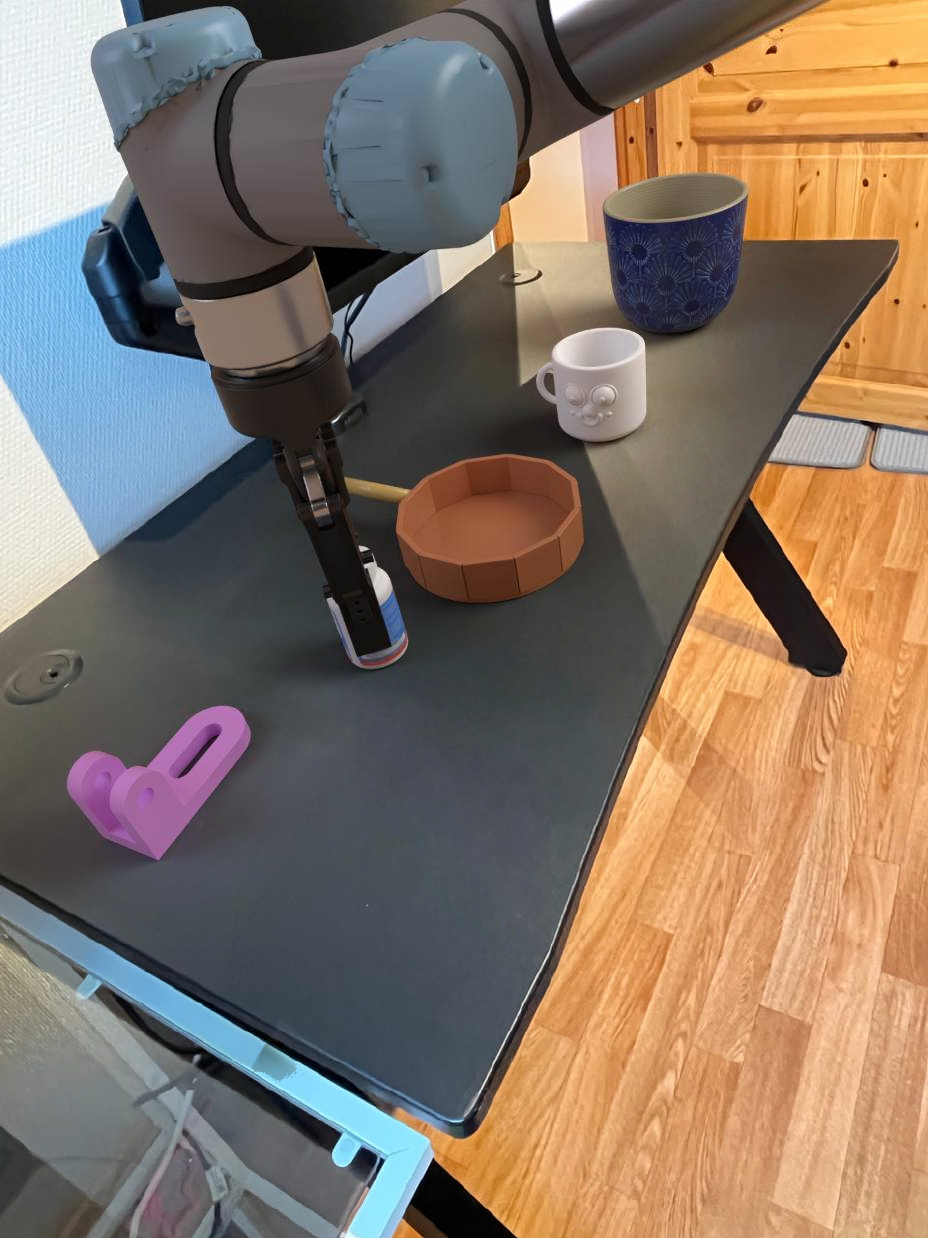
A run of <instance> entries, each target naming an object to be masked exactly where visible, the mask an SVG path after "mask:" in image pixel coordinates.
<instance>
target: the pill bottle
mask: <svg viewBox="0 0 928 1238" xmlns="http://www.w3.org/2000/svg"><path fill="white" fill-rule="evenodd" d="M359 548H360V552H362V551H365V550H368V549H369V548H368V547H366V546H363V545H359ZM372 555H373V558H374V562H371V563H368V564H365V565H364V567H365V568H368V571H369V574H370V577H371V580H372V583H373V587H374V590H375V593H376V596H377V599H378V602H379V605H380V609H381V612H382V615H383V618H384V621H385V624H386V627H387V630H388V634H389V637H390V641H391V644H392V647H390V648H387V649H383V650H380V651H377V652H373V653H370V654H367V655H363V656H360V657H357V656H356V653H355V650H354V647H353V645H352V642H351V639H350V636H349V634H348V631H347V628H346V625H345V622H344V620H343V617H342V614H341V611H340V609H339V606H338V605H337V604H336V603H335V601H334V600H333V599H332V597H331V598H328V599H326V602H327V604H328V608H329V611H330V613H331V615H332V618H333V620H334V624H335V626H336V629H337V631H338V634H339V636H340V637H339V638H340V639H341V642H342V644H343V647H344V649H345V653H346V654H347V657H348V658H349V660H350V661H351V663H352V664H353V665H354V666H356V667H359V668H361V669H366V670H377V669H382V668H385V667H388V666H390V665H392V664H394V663H395V662H397V661H398V660H399V659H401V657H402V656H403V655H404V654H405V652H406V651H407V649H408V646H409V645H408V644H409V637H408V632H407V629H406V627H405V622H404V620H403V617H402V614H401V611H400V610H401V609H400V607H399V604H398V603H399V602H398V599H397V596H396V594H395V590H394V587H393V584H392V581H391V578H390V577H389V575H388V573H387V571H385V570H384V569H382V568H381V567H379V566H378V564H377V561H376V559H375V556H374V554H373V552H372Z"/></svg>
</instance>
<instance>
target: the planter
mask: <svg viewBox="0 0 928 1238" xmlns="http://www.w3.org/2000/svg"><path fill="white" fill-rule="evenodd" d="M749 194H750V189H749V186H748V184H747V183H746V182H745V181H744V180H742V179H741V178H739V177H736V176H733V175H730V174H724V173H716V172H684V173H673V174H666V175H660V176H656V177H651V178H646V179H641V180H640V181H637V182H633V183H630V184H627V185H625V186H623V187H621V188H619V189H617V190H615V191H614V192H612V193H611V194H609V195H608V196H607V197H606V198H605V199H604V201H603V203H602V216H603V217H602V218H603V225H604V234H605V241H606V250H607V257H608V266H609V267H608V268H609V275H610V283H611V288H612V294H613V297H614V300H615V303H616V305H617V307H618V310H619V311H620V313H621V315H623V317H624V318H625V319H626V320H627V321H628V322H630V323H631V324H632V325H633V326H635V327H637V328H639V329H642V330H644V331H647V332H651V333H656V334H657V333H658V334H676V333H677V334H678V333H684V332H688V331H692V330H696V329H698V328H701V327H703V326H705V325H707V324H709V323H710V322H712V321H713V320H715V319H716V318H717V317H719V316H720V315H721V313H722V312H723V311H724V310H725V308H727V306H728V305H729V303H730V301H731V299H732V298H733V295H734V293H735V289H736V287H737V283H738V279H739V274H740V266H741V258H742V249H743V244H744V243H743V241H744V233H745V226H746V219H747V218H746V217H747V211H748V203H749Z"/></svg>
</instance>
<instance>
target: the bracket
mask: <svg viewBox="0 0 928 1238" xmlns="http://www.w3.org/2000/svg"><path fill="white" fill-rule="evenodd" d="M215 736H217V738H216V739H215V740H214V741H213V742H212V744H211V745H210V746H209V747H208V748H207V750H206V751H205V752H204V754H202V756H201V757H200V758H199V760H197V762H196V763H195V764H194V765H193V767H192V768H191V769H190V770H189V771H188V773H187V774H185V775H183V776H180V775H181V774H182V773H183V772H184V770H185V769H186V768H187V767H188V766H189V765H190V763H191V762H192V761H193V760H194V758H195V757H196V756H197V755H198V754H199V752H200V751H201V750H202V749H203V747H204V746H205V745H206V744H207V743H208V741H210V740H211V739H212V738H214V737H215ZM251 737H252V733H251V728H250V726H249V724H248V722H247V721H246V719H245V716H244V715H243V713H242V712H241V711H240V710H238V709H237V708H235V707H233V706H230V705H216V706H211V707H208V708H205V709H203V710H201V711H198V712H197V713H196V714H194V715H193V716H191V717H190V718H188V720H186V722H185V723H184V724H182V726H181V727H180V728H179V730H178V731H177V732H176V733H175V734H174V735H173V736H172V738H171V739H170V740H169V741H168V742H167V743H166V744H165V746H163V748H162V749H161V750H160V751H159V753H157V755H156V756H155V757H154V758H153V760H152V761H151V762H150V763H149V764H148V765H147V766H146V767H145V766H142V765H134V766H131V767H129V768H128V769H127V767H126V766H125V764H124V763H123V762H122V760H121V759H120V758H119V757H117V756H115V755H112V754H109V753H107V752H103V751H101V750H92V751H88V752H86V753H85V754H82V755H81V756H80V757H79V758H78V759H77V760H76V761H75V762H74V763H73V765H72V767H71V768H70V770H69V773H68V776H67V780H66V789H67V792H68V794H69V796H70V798H71V799H72V800H73V801H74V803H75V804H76V805H77V806H78V808H79V809H80V810H81V811H82V813H83V814H84V815H85V817H87V819H88V820H89V821H90V822H91V824H92V825H93V827H95V829H96V830H97V831H98V832H99V834H100V835H101V836H102V837H103V838H104V839H106V840H109V841H111V842H113V843H116V844H118V845H120V846H123V847H125V848H127V849H129V850H132V851H134V852H137V853H140V854H142V855H145V856H147V857H150V858H151V859H154V860H155V861H160V860H161V859H162V857H163V856H164V854H165V853H166V852H167V850H168V849H169V848H170V847H171V846H172V844H173V843H174V842H175V841H176V839H177V838H178V837H179V835H180V834H181V833H182V832H183V830H184V829H185V828H186V827H187V825H188V824H189V823H190V821H192V819H193V817H194V816H195V815H196V814H197V813H198V811H199V810H200V809H201V808H202V806H203V805H204V804H205V803H206V801H207V800H208V798H210V796H211V795H212V793H214V791H215V789H217V787H218V786H219V784H221V782H222V781H223V780H224V778H225V777H226V776H227V774H228V773H229V772H230V771H231V770H232V768H233V767H234V766H235V764H236V763H237V762H238V760H239V759H240V758H241V757H242V755H244V753H245V752H246V750H247V748H248V747H249V744H250V742H251ZM179 776H180V777H179Z"/></svg>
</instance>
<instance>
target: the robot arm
mask: <svg viewBox="0 0 928 1238" xmlns="http://www.w3.org/2000/svg"><path fill="white" fill-rule="evenodd" d="M832 1H833V0H464V1H461V2H459V3H458V4H455V5H454V6H452V7H449V8H446V9H443V10H440V11H437V12H435V13H433V14H431V15H427V16H426V17H424V18H421V19H419V20H416V21H413V22H411V23H408V24H406V25H403V26H402V27H398V28H396V29H393V30H391V31H389V32H386V33H384V34H381V35H379V36H376V37H374V38H372V39H369V40H366V41H364V42H362V43H359V44H357V45H354V46H353V45H352V46H350V47H347V48H342V49H339V50H334V51H329V52H323V53H316V54H309V55H303V56H297V57H290V58H289V57H288V58H283V59H264V58H262V57H263V56H262V55H263V54H262V50H261V49H260V48H259V47H258V46H257V45H256V43H255V41H254V40H255V39H254V37H253V35H252V31H251V28H250V26H249V25H250V24H249V23H248V21H247V19H246V17H245V16H244V15H243V13H242V12H241V11H239V9H237V8H235V7H233V6H229V5H228V6H227V5H226V6H225V5H222V6H210V7H209V6H208V7H204V8H198V9H193V10H188V11H184V12H178V13H175V14H171V15H167V16H163V17H158V18H155V19H149V20H147V21H143V22H140V23H136V24H133V25H130V26H126V27H123V28H120V29H117V30H114V31H111V32H109V33H107V34H105V35H103V36H102V37H100V38H99V39H98V40H97V41H96V42H95V44H94V46H93V47H92V50H91V53H90V68H91V72H92V75H93V78H94V81H95V84H96V87H97V90H98V93H99V95H100V99H101V103H102V104H103V108H104V110H105V114H106V116H107V119H108V123H109V125H110V128H111V131H112V134H113V136H112V137H113V140H114V141H113V145H114V148H115V150H116V152H117V153H119V154H120V157H121V159H122V161H123V164H124V166H125V169H126V171H127V174H128V176H129V178H130V182H131V183H132V186H133V188H134V191H135V192H136V195H137V198H138V200H139V202H140V205H141V207H142V209H143V212H144V214H145V217H146V219H147V222H148V225H149V226H150V229H151V231H152V233H153V236H154V238H155V241H156V243H157V245H158V248H159V250H160V254H161V256H162V258H163V260H164V263H165V265H166V267H167V270H168V273H169V276H170V277H171V279H172V281H173V283H174V286H175V289H176V290H177V292H178V295H179V297H180V300H181V301H180V302H181V303H182V305H183V306H181V307H178V308H176V310H175V320H176V322H177V324H179V325H180V326H182V327H188V326H192V325H194V335H195V338H196V340H197V343H198V346H199V348H200V350H201V353H202V356H203V358H204V360H205V361H206V362H207V363H208V364H209V365H212V368H211V371H210V379H211V381H212V384H213V386H214V389H215V391H216V393H217V397H218V398H219V401H220V403H221V406H222V409H223V411H224V415H225V416H226V418H227V421H228V423H229V425H230V426H231V428H232V429H233V430H235V431H236V432H237V433H239V434H240V435H243V436H245V437H248V438H252V439H258V440H260V439H267V440H270V444H271V446H272V450H273V452H274V454H273V455H272V459H273V463H274V466H275V470H276V471H277V475H278V476H279V480H280V482H281V483H282V484H283V485H285V486H286V487H287V489H288V492H289V494H290V497H291V500H292V503H293V506H294V509H295V511H296V515H297V517H298V518H297V519H298V520H300V521H301V523H302V525H303V527H304V529H305V531H306V532H307V534H308V537H309V539H310V542H311V544H312V547H313V549H314V552H315V554H316V557H317V559H318V562H319V564H320V566H321V569H322V572H323V574H324V577H325V579H326V582H327V583H325V584H323V585H321V587H322V593H323V597H324V599H325V600H327V599H328V598H331V597H332V599H333V600H334V601H335V603H336V604H337V605H338V606H339V609H340V611H341V614H342V617H343V620H344V622H345V625H346V628H347V631H348V634H349V636H350V639H351V642H352V645H353V647H354V650H355V653H356V656H357V657H360V656H363V655H367V654H370V653H373V652H377V651H380V650H383V649H387V648H390V647H392V644H391V641H390V637H389V634H388V630H387V627H386V624H385V621H384V618H383V615H382V612H381V609H380V605H379V602H378V599H377V596H376V593H375V590H374V587H373V583H372V580H371V577H370V574H369V571H368V568H365V567H364V565H365V564H368V563H371V562H374V559H375V557H374V558H373V556H374V554H373V555H372V553H373V552H372V549H371V548H368V550H365V551H362V552H360V548H359V546H360V545H359V535H358V532H357V531H356V530H355V529H354V525H353V521H352V519H351V515H350V512H349V508H348V506H349V505H350V503H351V496H350V494H349V493H348V489H347V486H346V483H345V478H344V477H345V475H344V471H343V467H344V461H343V458H342V453H341V450H340V447H339V444H338V439H337V436H336V432H335V428H334V426H333V423H332V420H333V419H334V418H335V417H337V416H338V415H339V414H340V413H341V412H342V411H343V410H344V409H345V408H346V406H347V405H348V404H349V402H350V399H351V397H352V390H353V387H352V383H351V379H350V375H349V372H348V369H347V365H346V361H345V358H344V354H343V350H342V348H341V344H340V341H339V338H338V337H337V335H335V334H334V333H332V330H333V329H334V325H335V318H334V316H333V312H332V309H331V305H330V301H329V297H328V294H327V290H326V287H325V284H324V280H323V276H322V274H321V270H320V266H319V263H318V259H317V256H316V253H315V250H314V248H313V247H324V248H325V247H327V248H343V249H344V248H345V249H365V250H381V251H387V252H388V251H389V252H391V253H393V254H402V253H403V254H404V253H407V254H412V255H413V254H414V255H416V254H421V253H426V252H428V251H433V250H434V251H436V250H448V249H461V248H466V247H469V246H472V245H474V244H477V243H478V242H480V241H482V240H483V239H484V238H485V237H487V236H488V235H489V234H490V233H491V232H492V231H493V230H494V229H495V227H496V226H497V225H498V223H499V222H500V219H501V213H502V206H503V205H504V204H506V203H507V202H508V201H509V200H510V198H511V196H512V192H513V189H514V185H515V181H516V175H517V166H518V165H520V164H521V163H523V162H525V161H526V160H527V159H530V158H531V157H533V156H534V155H536V154H538V153H539V152H541V151H543V150H544V149H546V148H548V147H550V146H552V145H553V144H556V143H557V142H560V141H561V140H563V139H565V138H567V137H569V136H571V135H573V134H575V133H577V132H579V131H581V130H582V129H585V128H587V127H589V126H591V125H592V124H594V123H596V122H598V121H600V120H602V119H604V118H606V117H608V116H610V115H612V114H613V113H614V112H615V111H617V110H619V109H621V108H623V107H625V106H627V105H629V104H631V103H633V102H635V101H636V100H639V99H641V98H643V97H645V96H647V95H648V94H650V93H653V92H654V91H656V90H658V89H660V88H662V87H664V86H666V85H668V84H670V83H673V82H674V81H676V80H678V79H681V78H682V77H684V76H686V75H688V74H690V73H692V72H694V71H695V70H698V69H700V68H702V67H704V66H707V65H709V64H710V63H712V62H713V61H715V60H718V59H719V58H722V57H724V56H725V55H727V54H730V53H731V52H733V51H735V50H737V49H740V48H741V47H743V46H745V45H747V44H749V43H751V42H753V41H755V40H757V39H759V38H761V37H763V36H765V35H767V34H768V33H771V32H773V31H775V30H777V29H779V28H780V27H783V26H785V25H786V24H789V23H791V22H792V21H795V20H797V19H799V18H800V17H803V16H804V15H807V14H808V13H810V12H812V11H815V10H816V9H818V8H820V7H822V6H824V5H826V4H828V3H830V2H832Z"/></svg>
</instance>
